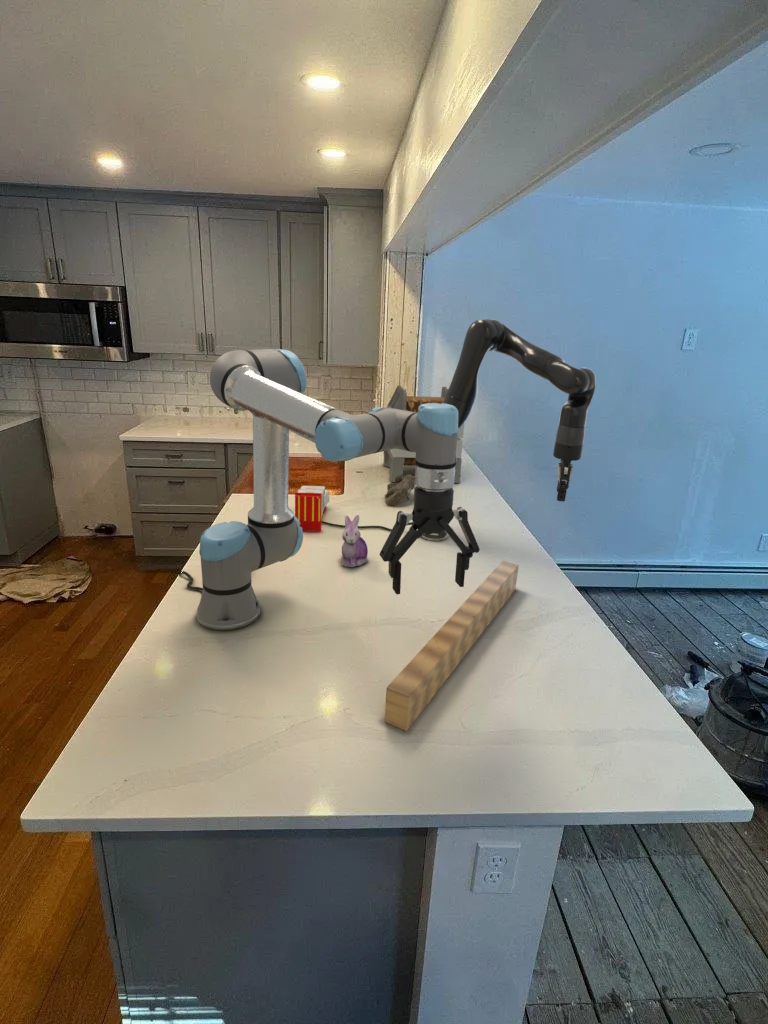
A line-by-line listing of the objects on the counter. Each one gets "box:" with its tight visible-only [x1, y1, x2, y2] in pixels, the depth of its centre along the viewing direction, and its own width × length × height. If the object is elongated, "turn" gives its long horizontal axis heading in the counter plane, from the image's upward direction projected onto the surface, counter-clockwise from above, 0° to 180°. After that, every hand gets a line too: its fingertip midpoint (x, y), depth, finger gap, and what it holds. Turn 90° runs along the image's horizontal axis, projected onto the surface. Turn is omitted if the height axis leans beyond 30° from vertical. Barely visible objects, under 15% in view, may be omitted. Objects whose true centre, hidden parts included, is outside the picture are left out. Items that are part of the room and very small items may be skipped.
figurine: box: [340, 514, 369, 568], centre depth 174 cm, size 9×10×15 cm
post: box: [384, 560, 520, 732], centre depth 135 cm, size 69×5×8 cm, turn 151°
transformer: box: [383, 384, 465, 484], centre depth 268 cm, size 34×33×41 cm
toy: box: [294, 485, 330, 532], centre depth 209 cm, size 12×13×30 cm
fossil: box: [384, 473, 416, 506], centre depth 235 cm, size 22×10×15 cm
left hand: (428, 587), depth 115 cm, fingers open, 13 cm apart
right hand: (560, 496), depth 164 cm, fingers open, 8 cm apart
